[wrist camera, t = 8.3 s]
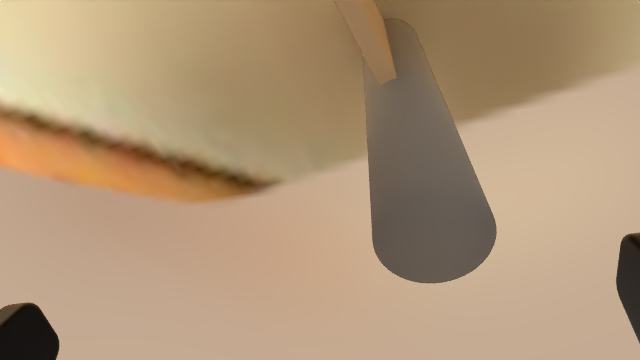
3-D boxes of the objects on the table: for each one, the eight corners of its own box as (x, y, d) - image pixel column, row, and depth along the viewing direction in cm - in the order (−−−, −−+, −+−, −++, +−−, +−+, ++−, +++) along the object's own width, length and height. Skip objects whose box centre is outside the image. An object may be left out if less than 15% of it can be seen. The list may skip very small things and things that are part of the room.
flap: (428, 60, 16) (515, 259, 7) (379, 85, 17) (405, 300, 8) (323, -159, 13) (266, -244, 5) (267, -119, 14) (123, -129, 5)
